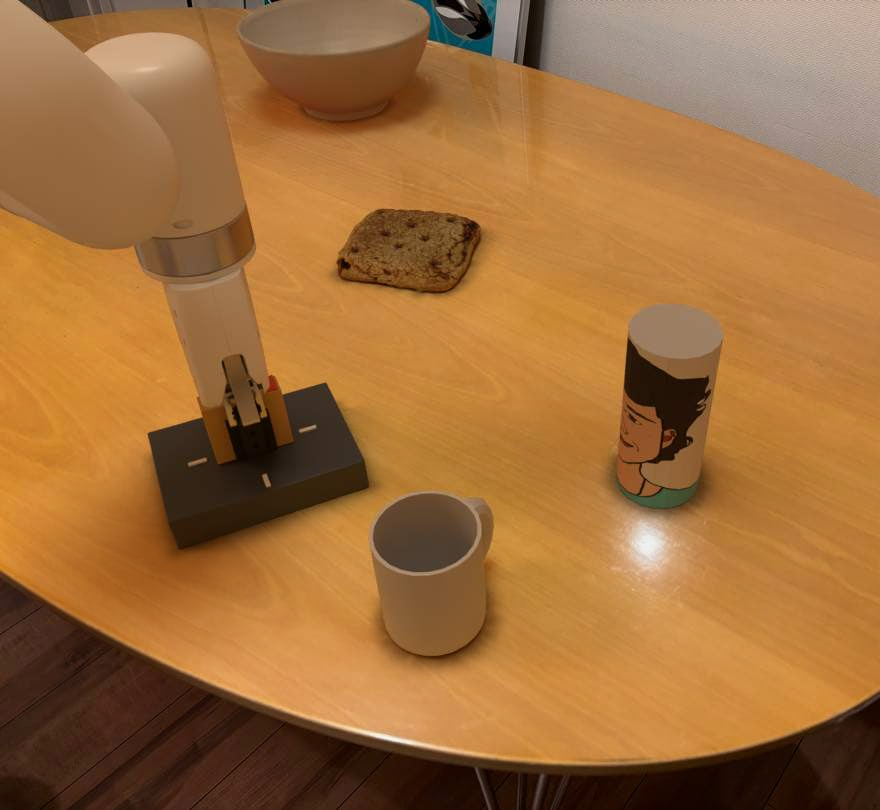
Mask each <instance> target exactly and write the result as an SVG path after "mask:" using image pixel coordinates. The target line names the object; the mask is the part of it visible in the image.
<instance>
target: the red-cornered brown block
mask: <svg viewBox="0 0 880 810" xmlns="http://www.w3.org/2000/svg"><path fill="white" fill-rule="evenodd" d="M268 377H269V383H270V386H269V388H268V390H267V391H266V392H265V393H263V391H260V392H261V395H262V399H263V402H264V406H265V409H266V408H267V409H268V411H269V415H270V419H271V423H272V426H273V430H274V434H275V438H276V442H277V445H278V446H282V445H285V444H288V443H292V442H293V441H294V440H293V436H292V432H291V428H290V424H289V420H288V416H287V412H286V408H285V404H284V400H283V396H282V395H283V392H282V391H283V390H282V388H281V387H280V384H279V381H278V379H277V377H276V376H275V375H273V374H270V375H269V374H268ZM252 395H253V393H252ZM253 398H254V396H253ZM196 401H197V404H198V407H199V410H200V413H201V416H202V417H203V420H204V423H205V426H206V429H207V432H208V435H209V438H210V441H211V444H212V447H213V450H214V453H215V456H216V459H217V462H218V464H222V463H226V462H229V461H232V460H236V456H235V453H234V450H233V446H232V443H231V440H230V437H229V433H228V430H227V427H226V424H225V420H227V419H228V418H227V415H226V411H225V408H224V405H223V402H222V404H221V405H220V406H215V407H212V408H211V409H209V408H207V407H205V406H203V405H202V404H201V401H200V398H199V396H197V397H196ZM254 401H255V400H254ZM230 402H231V405H232V409H233V407H236V406H237V405H236V402H235V399H230ZM202 417H201V418H202Z"/></svg>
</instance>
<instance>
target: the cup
mask: <svg viewBox="0 0 880 810" xmlns="http://www.w3.org/2000/svg"><path fill="white" fill-rule="evenodd" d="M492 511H493V510H492V508H491V507H490V506H489V505H488V503H487V502H486V501H485V500H484V498H483V497H469V496H468V497H466V498H462V497H461V496H458V495H456V494H453V493H451V492H447V491H442V490H420V491H419V490H418V491H414V492H409V493H406V494H404V495H402V496H399V497H397V498H394V499H393V500H392V501H390V502H389V503H386V505H384V506H383V507H382V508H381V509H380V510H379V512H378V513H377V514H376V515H375V516H374V518H373V520H372V522H371V524H370V526H369V532H368V543H369V548H370V554H371V560H372V565H373V571H374V575H375V576H374V577H375V581H376V587H377V592H378V596H379V603H380V608H381V613H382V617H383V623H384V626H385V629H386V632H387V633H388V635H389V637H390V638H391V640H392V641H393V642H394V643H395V644H396V645H398V647H400V648H401V649H403V650H405V651H407V652H409V653H411V654H415V655H419V656H425V657H439V656H443V655H448V654H451V653H454V652H455V651H458V650H460V649H462V648H463V647H465V646H467V645H468V644H469V643H470V642H471V641H472V640H474V638H476V637H477V635H478V634H479V632H480V631H481V630H482V628H483V625H484V622H485V620H486V617H487V616H486V615H487V593H486V592H487V591H486V575H485V559H486V557H487V555H488V552H489V550H490V548H491V544H492V541H493V538H494V537H493V536H494V530H495V529H494V528H495V524H494V523H495V521H494V515H493V512H492Z"/></svg>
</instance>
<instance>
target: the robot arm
mask: <svg viewBox="0 0 880 810" xmlns="http://www.w3.org/2000/svg"><path fill="white" fill-rule="evenodd" d="M216 74H217V73H216V70H215V67H214V64H213V61H212V59H211V57H210V55H209V54H208V52H207V51H206V49H205V48H204V47H203V46H202V45H201V44H200V43H198V41H196V40H193V39H191V37H187V36H185V35H182V34H176V33H170V32H158V31H154V32H153V31H150V32H137V33H130V34H125V35H119V36H115V37H113V38H109V39H107V40H104V41H103V42H100V43H97V44H95V45H93V46H92V47H91V48H89V49H88V50H86V51H85V52H83V51H82V50H81V49H79V47H77V45H75V44H74V43H73V42H72V41H71V40H70V39H68V38H67V37H66V36H65V35H63V34H62V33H61V32H60V31H59V30H57V29H56V28H55V27H53V25H51V24H50V23H49V22H47V21H46V20H44V18H42V17H41V16H40V15H38V14H37V13H36V12H34V11H33V10H32V9H30V8H29V7H28V6H27V5H25V4H24V3H23V2H21V1H20V0H0V209H1V210H3V211H6V212H8V213H10V214H12V215H14V216H17V217H19V218H22V219H25V220H27V221H29V222H31V223H33V224H34V225H37V226H40V227H41V228H43V229H46V230H48V231H50V232H52V233H54V234H56V235H58V236H60V237H62V238H64V239H66V240H68V241H70V242H71V243H75V244H77V245H80V246H83V247H87V248H91V249H94V250H106V251H113V250H122V249H123V250H124V249H129V248H132V247H133V248H134V251H135V253H136V257H137V260H138V263H139V266H140V269H141V271H142V272H143V273H144V274H145V276H148V277H149V278H150V279H152V280H155V281H157V282H161V284H162V287H163V291H164V295H165V298H166V301H167V305H168V309H169V312H170V314H171V315H170V316H171V317H172V320H173V323H174V327H175V329H176V333H177V336H178V339H179V342H180V345H181V348H182V351H183V354H184V357H185V359H186V363H187V365H188V368H189V372H190V374H191V375H190V376H191V378H192V380H193V384H194V387H195V389H196V392H197V397H199V398H200V401H201V404H202V405H203V406H205V407H207V408H209V409H211V408H212V407H215V406H220V405H221V404H222V402H223V405H224V408H225V411H226V415H227V418H228V419H227V420H225V424H226V427H227V430H228V433H229V437H230V440H231V443H232V446H233V450H234V453H235V456H236V459H237V460H238V461H245V460H248V459H252V458H255V457H258V456H261V455H265V454H268V453H271V452H274V451H276V450H277V449H278V445H277V442H276V438H275V434H274V430H273V426H272V423H271V419H270V415H269V411H268V409H267V408H266V409H265V406H264V402H263V399H262V395H261V392H260V391H263V393H265V392H266V391H267V390H268V388H269V386H270V383H269V377H268V376H269V372H268V367H267V361H266V356H265V352H264V347H263V343H262V337H261V333H260V329H259V324H258V320H257V316H256V312H255V308H254V303H253V300H252V294H251V291H250V287H249V283H248V278H247V275H246V271H245V266H246V265H247V264H248V263H249V262H250V261H251V260H252V259H253V257H254V256H255V255H256V251H257V244H256V238H255V235H254V230H253V225H252V221H251V217H250V213H249V209H248V205H247V201H246V198H245V193H244V188H243V183H242V181H241V177H240V173H239V168H238V164H237V159H236V155H235V151H234V147H233V142H232V138H231V133H230V129H229V125H228V120H227V116H226V111H225V108H224V107H225V106H224V103H223V99H222V96H221V91H220V87H219V86H220V85H219V82H218V77H217V75H216ZM252 393H253V395H252ZM253 396H254V398H253ZM230 399H235V402H236V405H237V406H236V407H233V409H232V405H231V402H230ZM254 400H255V401H254Z"/></svg>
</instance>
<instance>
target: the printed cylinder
mask: <svg viewBox="0 0 880 810" xmlns="http://www.w3.org/2000/svg"><path fill="white" fill-rule="evenodd" d="M626 340H627V341H626V350H625V352H626V353H625V365H624V375H623V376H624V377H623V387H622V388H623V389H622V401H621V413H620V424H619V425H620V426H619V437H618V448H617V449H618V450H617V462H616V473H615V474H616V477H615V480H616V484H617V486H618V488H619V490H620V492H622V494H623V495H624V496H625V497H626V498H627V499H629V500H630V501H632V502H634V503H635V504H637V505H639V506H643V507H647V508H649V509H663V510H665V509H666V510H667V509H671V508H677V507H679V506H681V505H684V504H685V503H687V502H689V501H690V500H691V498H693V496H694V495H695V494H696V492H697V489H698V488H699V487H698V486H699V482H700V476H701V470H702V465H703V457H704V453H705V447H706V443H707V442H706V441H707V436H708V430H709V423H710V417H711V412H712V405H713V400H714V393H715V389H716V383H717V378H718V377H717V376H718V372H719V371H718V370H719V365H720V359H721V353H722V346H723V341H724V331H723V327H722V325H721V323H720V322H719V321H718V320H717V318H715V317H714V316H712V315H711V314H710V313H709V312H707V311H705V310H703V309H700V308H698V307H696V306H691V305H687V304H683V303H668V302H666V303H660V304H659V303H658V304H652V305H650V306H646V307H645V308H642V309H640V310H639V311H638V312H636V313H634V314H633V315H632V317H631V319H629V322H628V328H627V339H626Z"/></svg>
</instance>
